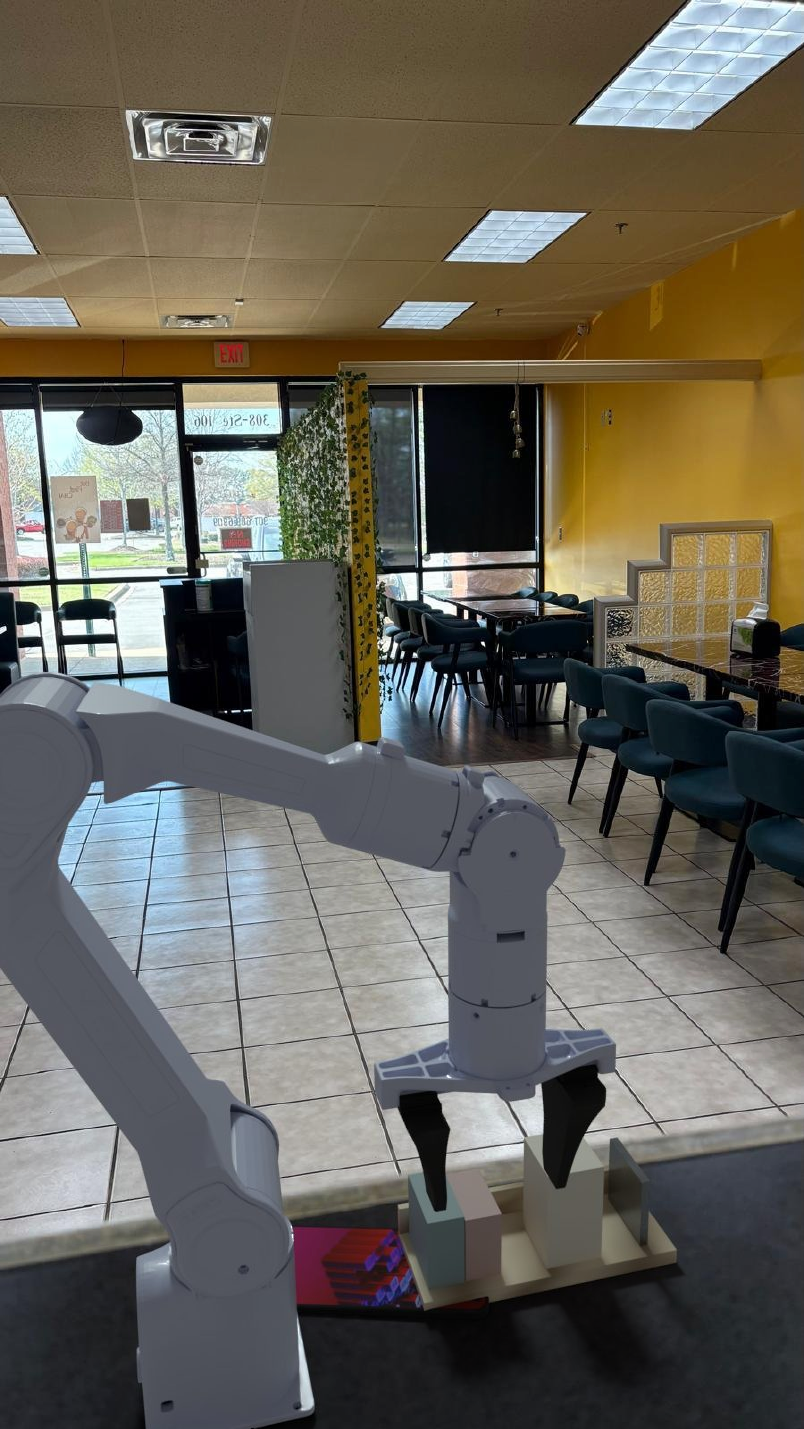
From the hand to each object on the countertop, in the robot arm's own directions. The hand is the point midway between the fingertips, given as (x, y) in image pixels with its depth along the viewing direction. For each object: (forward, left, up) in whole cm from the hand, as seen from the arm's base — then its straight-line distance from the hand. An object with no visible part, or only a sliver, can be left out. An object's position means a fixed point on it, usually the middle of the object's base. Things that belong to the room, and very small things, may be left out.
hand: (496, 1189), depth 62 cm
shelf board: (+5, +6, -10) cm, 13 cm away
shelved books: (-1, +6, -10) cm, 12 cm away
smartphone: (-6, +7, -11) cm, 14 cm away
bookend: (+12, +6, -10) cm, 17 cm away
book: (+7, +5, -9) cm, 13 cm away
